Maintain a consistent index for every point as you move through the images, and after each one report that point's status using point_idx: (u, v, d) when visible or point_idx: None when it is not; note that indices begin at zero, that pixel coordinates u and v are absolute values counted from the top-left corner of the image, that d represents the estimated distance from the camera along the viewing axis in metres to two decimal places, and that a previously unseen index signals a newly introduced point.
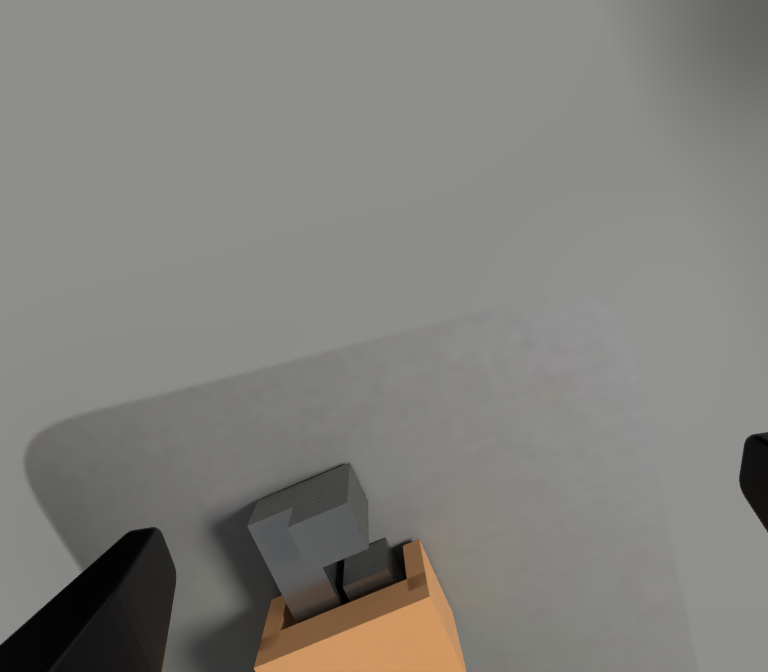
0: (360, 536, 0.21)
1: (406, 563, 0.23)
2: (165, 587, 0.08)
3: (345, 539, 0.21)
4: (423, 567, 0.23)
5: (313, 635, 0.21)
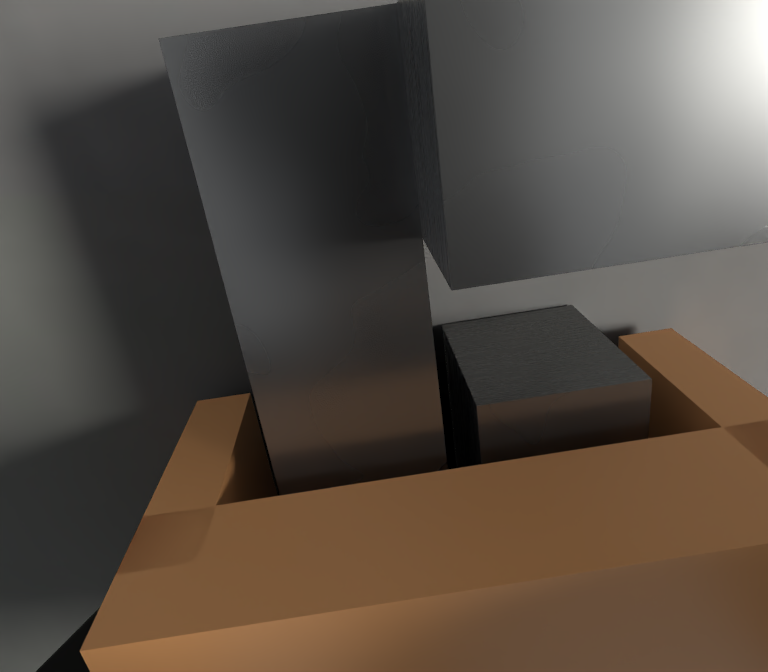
0: None
1: (675, 380, 0.07)
2: None
3: (700, 155, 0.04)
4: None
5: (367, 560, 0.05)
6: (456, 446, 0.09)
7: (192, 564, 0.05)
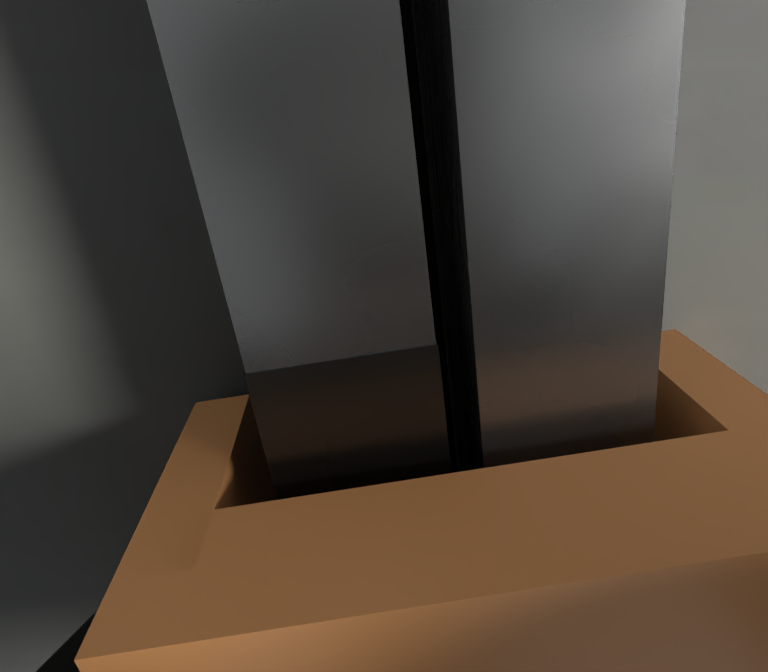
0: None
1: (680, 382, 0.07)
2: None
3: None
4: None
5: (368, 567, 0.05)
6: (421, 82, 0.07)
7: (189, 570, 0.05)
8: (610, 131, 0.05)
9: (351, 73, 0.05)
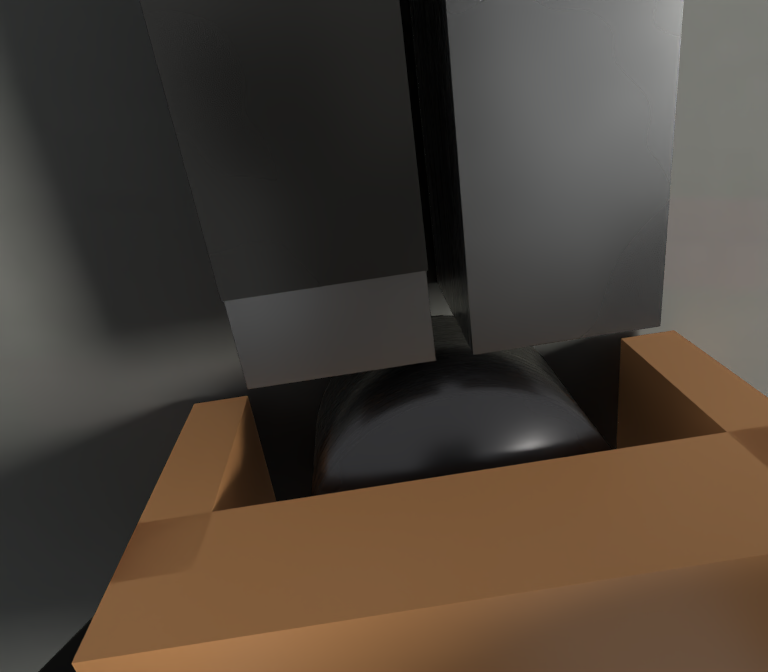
0: None
1: (679, 384, 0.07)
2: None
3: None
4: None
5: (366, 569, 0.05)
6: None
7: (187, 572, 0.05)
8: None
9: None
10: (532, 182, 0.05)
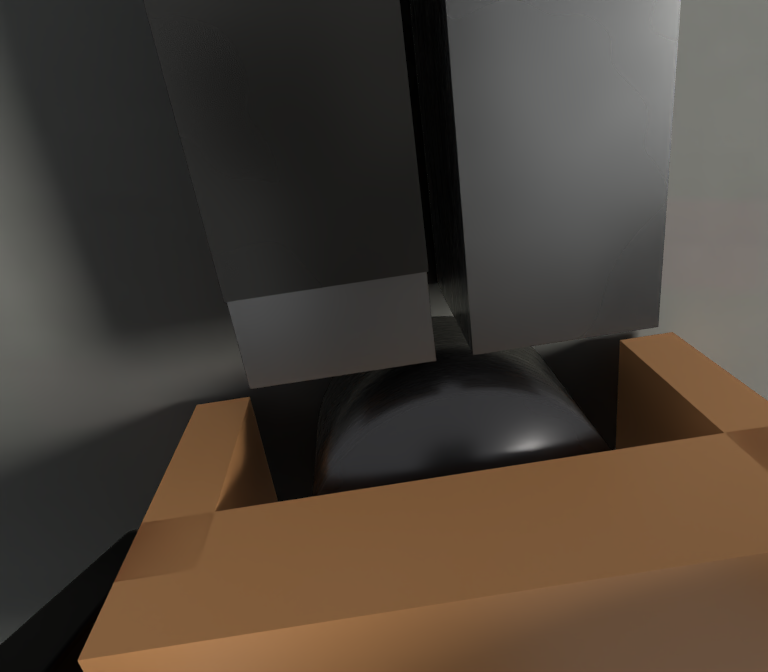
0: None
1: (677, 385, 0.07)
2: None
3: None
4: None
5: (368, 567, 0.05)
6: None
7: (191, 571, 0.05)
8: None
9: None
10: (532, 185, 0.05)
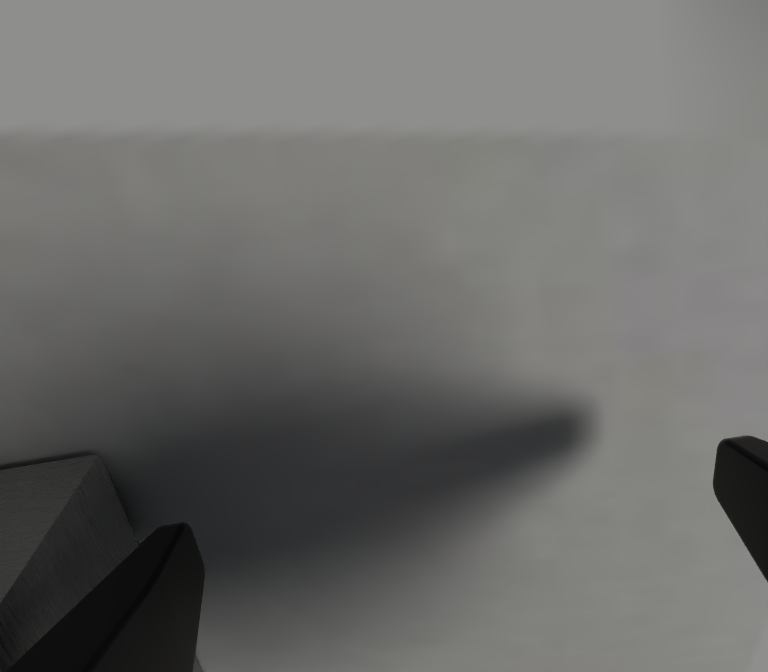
0: None
1: None
2: (195, 582, 0.08)
3: None
4: None
5: None
6: None
7: None
8: None
9: None
10: None
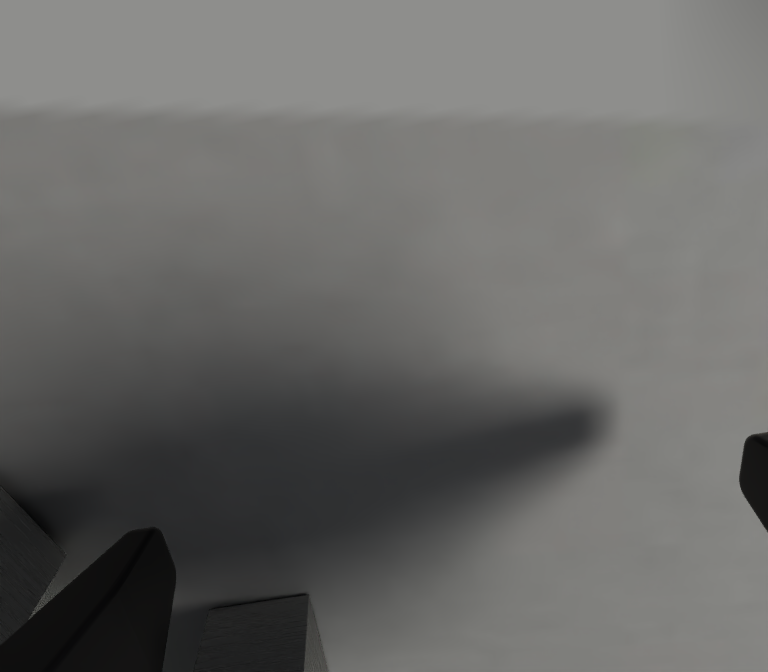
0: None
1: None
2: (165, 587, 0.08)
3: None
4: None
5: None
6: None
7: None
8: None
9: None
10: None
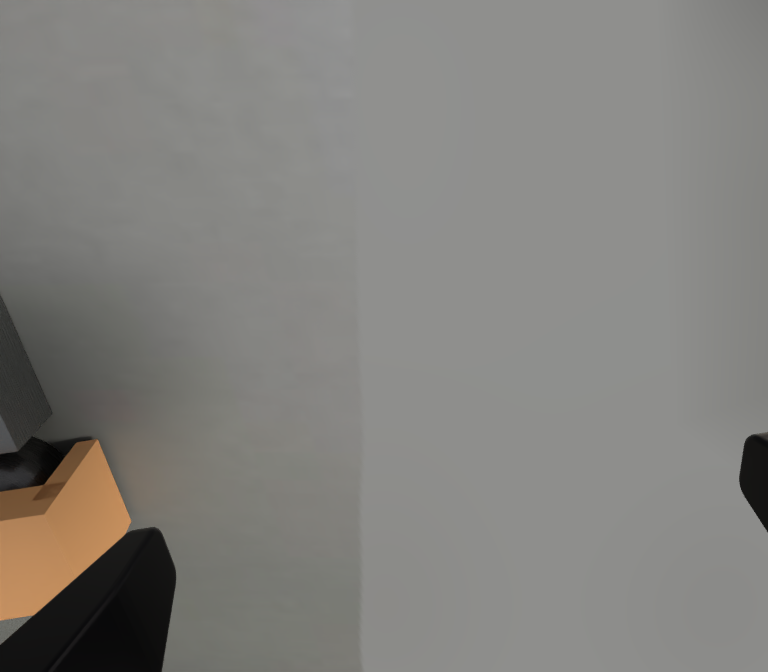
0: None
1: (60, 465, 0.20)
2: (165, 587, 0.08)
3: None
4: (70, 475, 0.19)
5: None
6: None
7: None
8: None
9: None
10: None
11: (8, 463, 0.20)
